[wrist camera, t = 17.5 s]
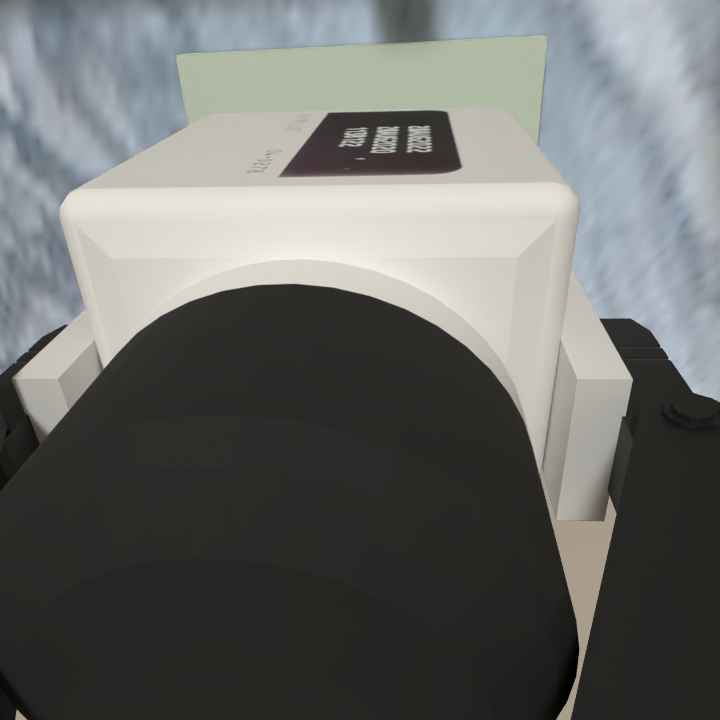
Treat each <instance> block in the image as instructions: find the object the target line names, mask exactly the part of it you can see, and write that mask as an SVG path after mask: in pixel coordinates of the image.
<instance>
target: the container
mask: <svg viewBox="0 0 720 720" xmlns="http://www.w3.org/2000/svg"><path fill="white" fill-rule="evenodd" d="M579 212H580V209H579V201H578V196H577V195H576V193H575V192H574V191H573V190H572V188H571V187H570V186H569V185H568V183H567V182H566V181H565V180H564V178H563V177H562V176H561V175H560V173H559V172H558V171H557V170H556V168H555V167H554V166H553V165H552V163H551V162H550V161H549V159H548V158H547V157H546V156H545V154H544V153H543V152H542V151H541V149H540V148H539V147H538V146H537V144H536V143H535V142H534V141H533V139H532V138H531V137H530V136H529V134H528V133H527V132H526V131H525V129H524V128H523V127H522V126H521V124H520V123H519V122H518V121H517V119H516V118H515V117H514V115H513V114H512V113H511V112H510V111H509V110H508V109H507V108H503V107H499V106H498V107H457V108H417V109H376V110H335V111H295V112H254V113H214V114H211V115H208V116H205V117H203V118H202V119H200V120H198V121H196V122H194V123H193V124H191V125H189V126H187V127H186V128H184V129H182V130H180V131H178V132H177V133H175V134H173V135H171V136H170V137H168V138H166V139H164V140H162V141H161V142H159V143H157V144H155V145H154V146H152V147H150V148H148V149H146V150H145V151H143V152H141V153H139V154H137V155H136V156H134V157H132V158H130V159H129V160H127V161H125V162H123V163H121V164H120V165H118V166H116V167H114V168H113V169H111V170H109V171H107V172H105V173H104V174H102V175H100V176H98V177H96V178H95V179H93V180H91V181H89V182H88V183H86V184H84V185H82V186H80V187H79V188H77V189H75V190H73V191H72V192H70V193H69V194H68V196H67V197H66V199H65V200H64V202H63V203H62V205H61V207H60V221H61V225H62V228H63V232H64V235H65V238H66V242H67V245H68V249H69V252H70V256H71V259H72V263H73V266H74V270H75V273H76V277H77V280H78V284H79V287H80V290H81V294H82V297H83V301H84V304H85V308H86V311H87V315H88V318H89V322H90V325H91V329H92V332H93V336H94V339H95V343H96V346H97V349H98V353H99V356H100V360H101V363H102V367H103V371H102V372H101V373H100V374H99V375H98V377H97V378H96V379H95V380H94V381H93V382H92V384H91V385H90V386H89V387H88V388H87V390H86V391H85V392H84V393H83V394H82V395H81V397H80V398H79V399H78V400H77V401H76V403H75V404H74V405H73V406H72V407H71V408H70V410H69V411H68V412H67V413H66V414H65V416H64V417H63V418H62V419H61V420H60V421H59V423H58V424H57V425H56V426H55V427H54V429H53V430H52V431H51V432H50V433H49V435H48V436H47V437H46V438H45V439H44V440H43V442H42V443H41V444H40V445H39V446H38V448H37V449H36V450H35V451H34V452H33V453H32V455H31V456H30V457H29V458H28V459H27V461H26V462H25V463H24V464H23V465H22V466H21V468H20V469H19V470H18V471H17V472H16V474H15V475H14V476H13V477H12V478H11V479H10V481H9V482H8V483H7V484H6V485H5V487H4V488H3V489H2V490H1V491H0V689H1V690H2V691H3V693H4V694H5V695H6V697H7V698H8V699H9V700H10V702H11V703H12V704H13V706H14V707H15V708H16V709H17V710H18V711H19V712H20V713H21V714H22V715H23V716H24V717H25V718H26V719H27V720H556V719H557V717H558V715H559V714H560V712H561V711H562V709H563V707H564V706H565V704H566V703H567V700H568V697H569V695H570V692H571V689H572V687H573V684H574V681H575V678H576V674H577V665H578V656H579V642H578V633H577V624H576V618H575V614H574V610H573V606H572V602H571V598H570V594H569V591H568V586H567V582H566V578H565V574H564V571H563V566H562V562H561V558H560V554H559V550H558V546H557V543H556V539H555V535H554V530H553V527H552V523H551V519H550V515H549V511H548V507H547V503H546V499H545V495H544V491H543V487H542V483H541V479H540V475H541V469H542V462H543V455H544V448H545V442H546V435H547V428H548V421H549V415H550V408H551V401H552V394H553V387H554V381H555V374H556V367H557V360H558V353H559V347H560V340H561V334H562V327H563V320H564V313H565V306H566V300H567V293H568V286H569V279H570V273H571V266H572V259H573V252H574V246H575V239H576V232H577V225H578V219H579Z"/></svg>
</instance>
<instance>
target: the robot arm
mask: <svg viewBox="0 0 720 720" xmlns="http://www.w3.org/2000/svg"><path fill="white" fill-rule="evenodd" d="M102 371H103V367H102V363H101V360H100V356H99V353H98V349H97V346H96V343H95V339H94V336H93V332H92V329H91V325H90V322H89V318H88V315H87V311H86V309H85V310H84V311H83V312H82V313H81V314H80V315H79V316H78V317H77V318H76V319H74V320H73V321H72V322H71V323H70V324H69V325H64V326H62V327H60V328H58V329H56V330H55V331H53V332H51V333H49V334H47V335H45V336H43V337H42V338H41V339H40V340H39V341H38V342H37V343H35V344H34V345H33V346H32V347H31V348H30V349H29V352H26V353H24V354H23V355H22V356H21V357H20V358H19V359H18V360H17V363H13V364H12V365H11V366H10V367H9V368H8V369H7V370H6V371H5V372H3V373H2V374H1V375H0V491H1V490H2V489H3V488H4V487H5V485H6V484H7V483H8V482H9V481H10V479H11V478H12V477H13V476H14V475H15V474H16V472H17V471H18V470H19V469H20V468H21V466H22V465H23V464H24V463H25V462H26V461H27V459H28V458H29V457H30V456H31V455H32V453H33V452H34V451H35V450H36V449H37V448H38V446H39V445H40V444H41V443H42V442H43V440H44V439H45V438H46V437H47V436H48V435H49V433H50V432H51V431H52V430H53V429H54V427H55V426H56V425H57V424H58V423H59V421H60V420H61V419H62V418H63V417H64V416H65V414H66V413H67V412H68V411H69V410H70V408H71V407H72V406H73V405H74V404H75V403H76V401H77V400H78V399H79V398H80V397H81V395H82V394H83V393H84V392H85V391H86V390H87V388H88V387H89V386H90V385H91V384H92V382H93V381H94V380H95V379H96V378H97V377H98V375H99V374H100V373H101V372H102ZM542 468H543V472H544V476H545V479H546V483H547V487H548V491H549V495H550V498H551V502H552V506H553V509H554V514H555V518H556V520H573V521H604V518H605V514H606V508H607V503H608V499H609V495H610V497H611V500H612V503H613V505H614V508H615V510H616V513H617V515H616V519H615V524H614V528H613V533H612V538H611V542H610V547H609V551H608V555H607V560H606V564H605V569H604V573H603V578H602V582H601V587H600V591H599V596H598V600H597V604H596V609H595V614H594V618H593V622H592V627H591V631H590V636H589V640H588V645H587V650H586V654H585V658H584V663H583V667H582V672H581V676H580V681H579V685H578V690H577V694H576V699H575V703H574V708H573V712H572V716H571V720H720V402H718V401H716V400H714V399H712V398H709V397H705V396H702V395H698V394H695V393H693V392H692V391H691V389H690V388H689V386H688V385H687V383H686V382H685V381H684V379H683V378H682V376H681V375H680V373H679V372H678V370H677V369H676V367H675V366H674V365H673V363H672V362H671V360H668V356H667V354H666V353H665V352H664V350H663V349H662V348H660V344H659V343H658V341H657V340H656V339H655V337H654V336H653V334H652V333H651V331H649V330H648V329H646V328H645V327H643V326H641V325H640V324H638V323H637V322H635V321H634V320H632V319H599V318H598V316H597V314H596V312H595V311H594V309H593V307H592V305H591V303H590V302H589V300H588V298H587V296H586V294H585V293H584V291H583V289H582V287H581V286H580V284H579V282H578V280H577V278H576V277H575V275H574V273H573V271H572V269H571V273H570V279H569V286H568V293H567V300H566V306H565V313H564V320H563V327H562V334H561V340H560V347H559V353H558V360H557V367H556V374H555V381H554V387H553V394H552V401H551V408H550V415H549V421H548V428H547V435H546V442H545V448H544V455H543V462H542ZM16 711H17V709H16V708H15V707H14V706H13V704H12V703H11V702H10V700H9V699H8V698H7V697H6V695H5V694H4V693H3V691H2V690H1V689H0V720H15V717H16Z"/></svg>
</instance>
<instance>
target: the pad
mask: <svg viewBox="0 0 720 720" xmlns="http://www.w3.org/2000/svg"><path fill="white" fill-rule="evenodd" d="M546 47H547V36H544V35H538V36H519V37H499V38H480V39H460V40H441V41H422V42H402V43H383V44H363V45H344V46H325V47H305V48H286V49H266V50H247V51H228V52H208V53H189V54H180V55H176V61H177V66H178V72H179V77H180V83H181V88H182V94H183V99H184V105H185V110H186V116H187V121H188V126H189V125H191V124H193V123H194V122H196V121H198V120H200V119H202V118H203V117H205V116H208V115H211V114H214V113H254V112H295V111H335V110H376V109H417V108H457V107H498V106H499V107H503V108H507V109H508V110H509V111H510V112H511V113H512V114H513V115H514V117H515V118H516V119H517V121H518V122H519V123H520V124H521V126H522V127H523V128H524V129H525V131H526V132H527V133H528V134H529V136H530V137H531V138H532V139H533V141H534V142H535V143H536V144H537V145H538V134H539V123H540V112H541V101H542V90H543V80H544V69H545V58H546Z"/></svg>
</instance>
